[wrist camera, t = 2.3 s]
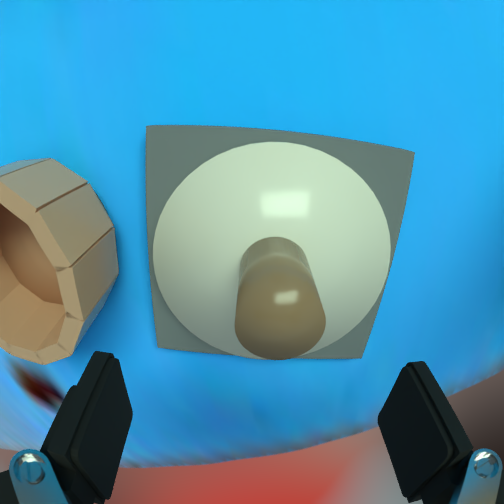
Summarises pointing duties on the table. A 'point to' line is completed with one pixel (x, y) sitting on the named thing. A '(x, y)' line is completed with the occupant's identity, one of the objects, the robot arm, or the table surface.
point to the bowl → (51, 259)
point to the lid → (271, 250)
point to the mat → (224, 138)
